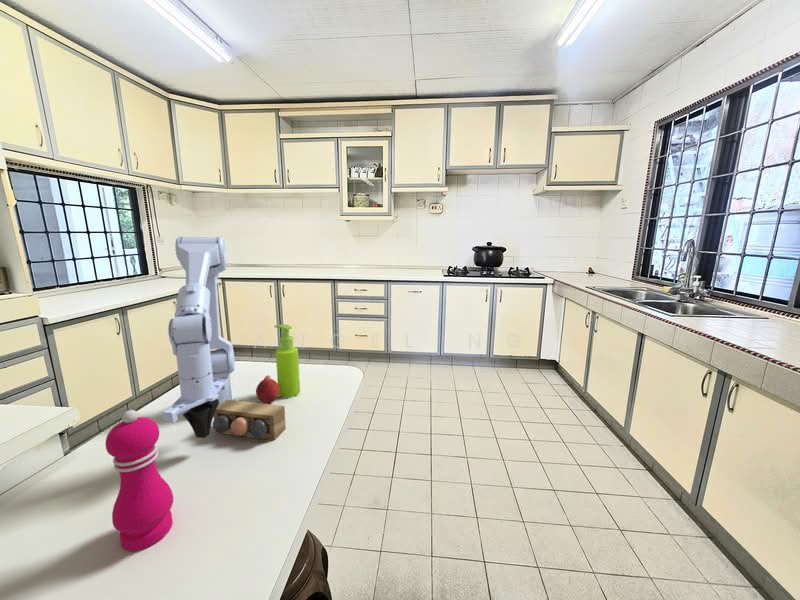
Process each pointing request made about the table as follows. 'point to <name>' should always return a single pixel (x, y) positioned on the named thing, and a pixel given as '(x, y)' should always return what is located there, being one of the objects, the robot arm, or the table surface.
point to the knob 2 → (259, 427)
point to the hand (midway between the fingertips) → (202, 435)
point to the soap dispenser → (287, 364)
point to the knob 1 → (223, 423)
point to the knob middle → (241, 425)
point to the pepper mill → (139, 483)
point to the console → (254, 415)
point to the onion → (267, 390)
